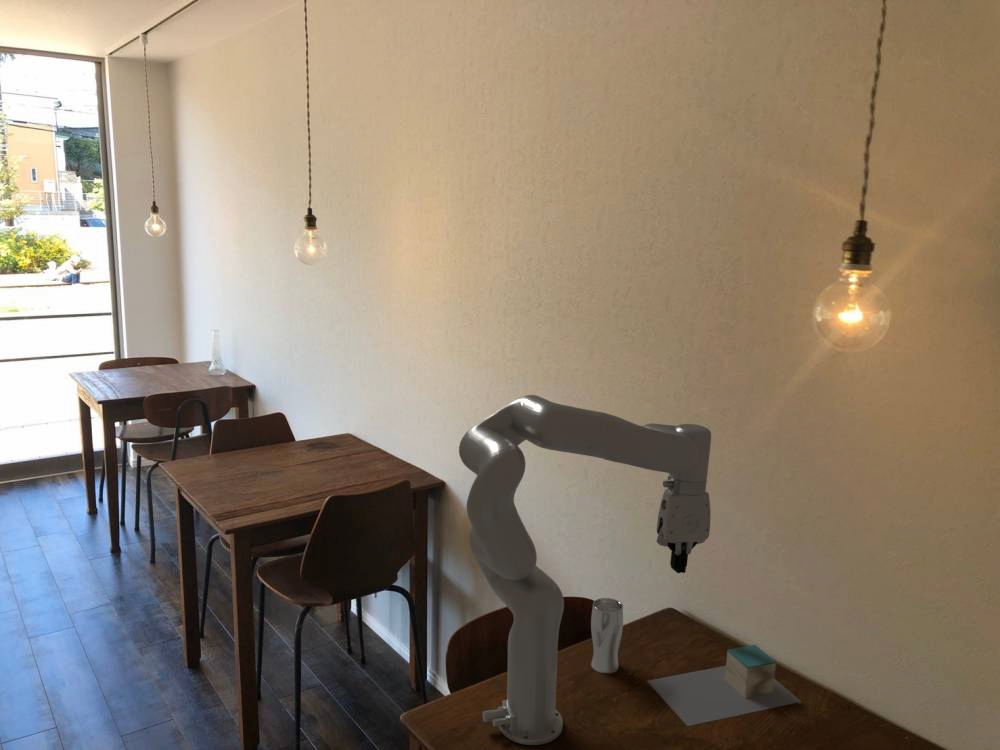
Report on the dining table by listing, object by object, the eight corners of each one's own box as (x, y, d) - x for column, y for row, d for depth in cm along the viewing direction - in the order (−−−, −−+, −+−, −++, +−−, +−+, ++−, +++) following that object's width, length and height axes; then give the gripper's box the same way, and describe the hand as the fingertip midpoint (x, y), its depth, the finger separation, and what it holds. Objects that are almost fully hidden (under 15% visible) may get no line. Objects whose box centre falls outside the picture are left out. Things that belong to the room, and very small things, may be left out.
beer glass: (627, 670, 171) (630, 607, 168) (603, 680, 167) (606, 615, 164) (606, 655, 176) (609, 594, 173) (582, 664, 172) (585, 602, 170)
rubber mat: (687, 728, 151) (687, 726, 151) (646, 682, 166) (646, 680, 166) (801, 703, 160) (801, 701, 160) (752, 662, 175) (753, 660, 175)
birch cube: (775, 661, 161) (773, 692, 163) (754, 644, 168) (752, 673, 169) (747, 667, 159) (744, 698, 161) (727, 649, 166) (725, 679, 167)
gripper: (663, 492, 151) (654, 581, 154) (729, 489, 156) (719, 575, 159) (645, 481, 158) (637, 565, 161) (708, 478, 163) (699, 560, 166)
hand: (677, 570), depth 160 cm, fingers closed
